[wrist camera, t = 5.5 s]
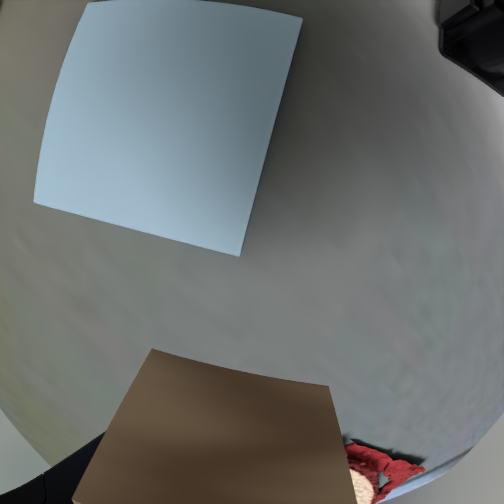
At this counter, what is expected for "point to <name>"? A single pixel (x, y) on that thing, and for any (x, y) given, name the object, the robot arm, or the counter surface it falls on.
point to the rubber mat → (166, 117)
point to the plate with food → (375, 472)
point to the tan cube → (218, 441)
